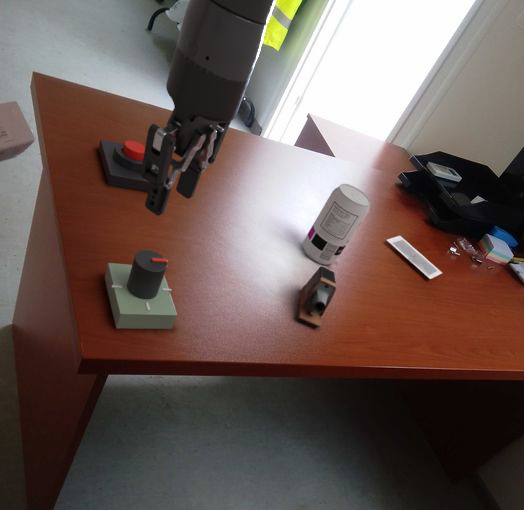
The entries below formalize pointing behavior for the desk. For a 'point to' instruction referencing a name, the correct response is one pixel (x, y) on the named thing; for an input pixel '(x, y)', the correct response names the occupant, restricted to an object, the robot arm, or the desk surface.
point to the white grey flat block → (414, 257)
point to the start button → (134, 150)
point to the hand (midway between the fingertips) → (169, 202)
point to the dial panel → (137, 302)
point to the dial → (146, 274)
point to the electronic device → (316, 297)
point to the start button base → (121, 167)
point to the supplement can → (336, 224)
